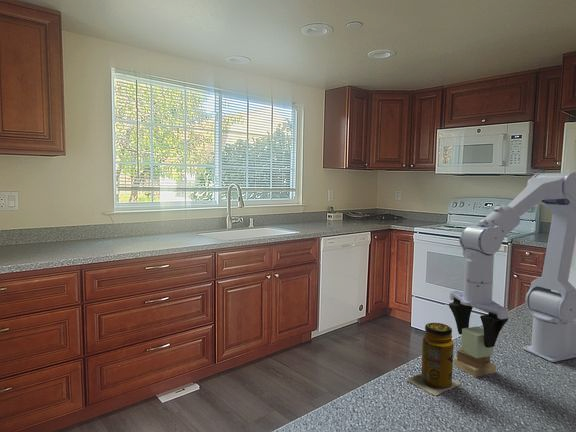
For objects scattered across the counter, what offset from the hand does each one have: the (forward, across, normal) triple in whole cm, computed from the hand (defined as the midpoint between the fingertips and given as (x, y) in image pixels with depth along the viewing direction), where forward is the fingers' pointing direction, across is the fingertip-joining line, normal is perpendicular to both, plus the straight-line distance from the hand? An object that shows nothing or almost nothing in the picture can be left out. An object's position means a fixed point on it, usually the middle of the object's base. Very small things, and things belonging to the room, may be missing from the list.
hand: (475, 339), depth 87 cm
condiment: (+7, +2, -13) cm, 15 cm away
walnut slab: (+5, 0, 0) cm, 5 cm away
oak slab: (+7, 0, 0) cm, 7 cm away
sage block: (+3, 0, 0) cm, 3 cm away
